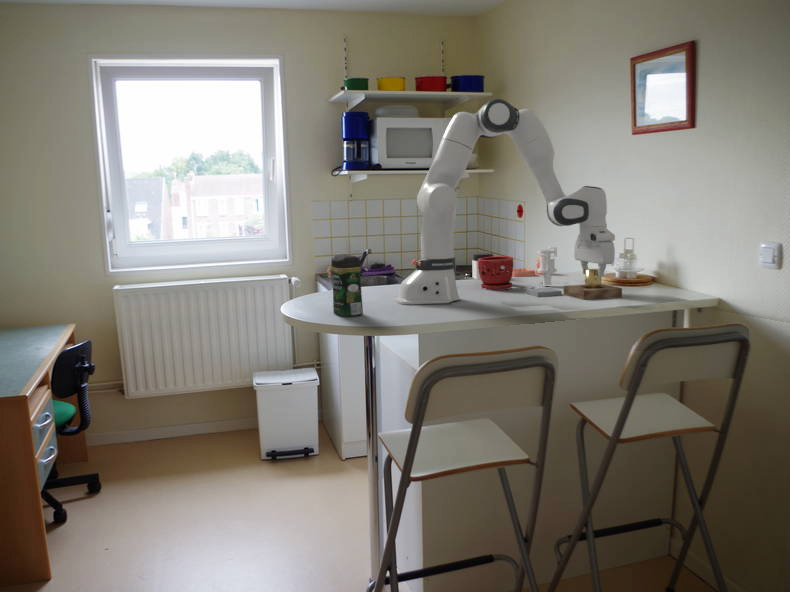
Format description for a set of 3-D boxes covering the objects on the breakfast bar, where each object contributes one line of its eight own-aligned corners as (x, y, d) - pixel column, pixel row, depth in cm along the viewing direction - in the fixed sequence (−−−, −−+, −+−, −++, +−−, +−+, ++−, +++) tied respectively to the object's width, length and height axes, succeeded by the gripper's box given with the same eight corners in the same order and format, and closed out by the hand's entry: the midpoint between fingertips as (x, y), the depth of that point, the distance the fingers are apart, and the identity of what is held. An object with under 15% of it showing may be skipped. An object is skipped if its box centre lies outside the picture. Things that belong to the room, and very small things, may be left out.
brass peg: (590, 297, 227) (590, 270, 226) (582, 295, 232) (582, 269, 231) (604, 296, 228) (604, 269, 227) (596, 294, 233) (596, 268, 232)
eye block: (583, 299, 222) (583, 290, 221) (563, 294, 235) (563, 285, 235) (621, 297, 225) (622, 288, 225) (599, 291, 238) (600, 283, 238)
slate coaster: (537, 296, 231) (537, 292, 231) (526, 293, 240) (526, 289, 240) (561, 295, 234) (561, 290, 233) (549, 291, 242) (549, 287, 242)
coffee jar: (329, 314, 209) (327, 254, 206) (353, 311, 212) (350, 252, 210) (342, 319, 200) (339, 256, 197) (366, 316, 204) (364, 254, 201)
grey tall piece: (558, 287, 253) (558, 247, 251) (539, 288, 253) (539, 248, 251) (554, 285, 260) (554, 246, 258) (536, 285, 260) (536, 246, 258)
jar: (485, 285, 266) (484, 255, 264) (468, 283, 271) (468, 254, 270) (498, 282, 272) (498, 253, 270) (482, 281, 278) (481, 252, 276)
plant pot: (496, 285, 263) (495, 255, 261) (520, 289, 252) (520, 257, 251) (471, 289, 255) (470, 257, 254) (495, 292, 245) (495, 259, 243)
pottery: (514, 282, 274) (514, 257, 273) (505, 279, 283) (505, 256, 282) (555, 279, 278) (555, 255, 277) (545, 277, 287) (545, 254, 286)
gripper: (569, 233, 237) (569, 273, 239) (600, 236, 217) (600, 279, 219) (585, 233, 238) (586, 271, 240) (617, 235, 218) (617, 278, 220)
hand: (593, 275), depth 229 cm, fingers open, 8 cm apart
